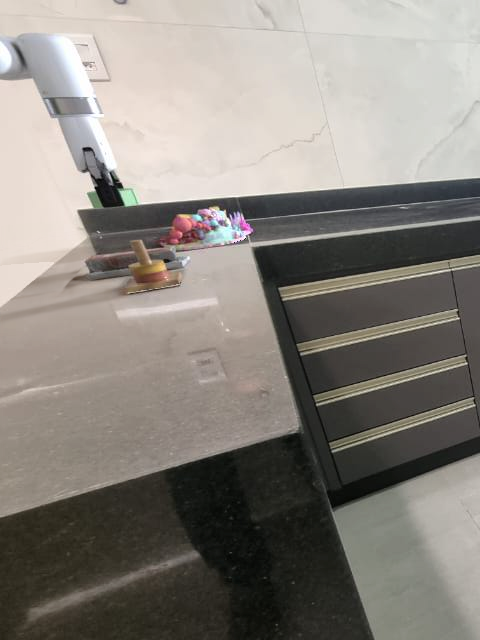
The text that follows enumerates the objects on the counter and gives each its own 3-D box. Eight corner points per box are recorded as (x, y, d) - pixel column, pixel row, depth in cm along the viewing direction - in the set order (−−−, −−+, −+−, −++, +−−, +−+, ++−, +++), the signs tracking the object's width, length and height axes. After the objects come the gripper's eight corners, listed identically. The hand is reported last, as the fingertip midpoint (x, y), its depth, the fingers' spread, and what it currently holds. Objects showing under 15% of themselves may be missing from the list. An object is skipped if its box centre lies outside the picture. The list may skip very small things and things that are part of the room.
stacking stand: (126, 295, 111) (103, 247, 106) (132, 285, 117) (110, 240, 113) (180, 286, 115) (160, 240, 111) (182, 277, 122) (164, 233, 118)
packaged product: (77, 261, 120) (91, 252, 128) (88, 281, 122) (101, 272, 130) (176, 248, 128) (183, 241, 136) (185, 267, 130) (191, 259, 138)
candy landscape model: (147, 244, 158) (133, 213, 154) (236, 229, 175) (225, 200, 171) (177, 253, 145) (163, 219, 141) (270, 236, 162) (259, 205, 158)
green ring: (91, 209, 104) (84, 194, 103) (97, 205, 109) (90, 190, 108) (137, 205, 108) (131, 190, 107) (141, 202, 113) (135, 187, 112)
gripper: (58, 110, 105) (99, 202, 113) (35, 108, 93) (84, 212, 100) (108, 109, 109) (145, 198, 117) (93, 107, 97) (135, 207, 104)
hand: (116, 204), depth 109 cm, fingers closed on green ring, 7 cm apart
